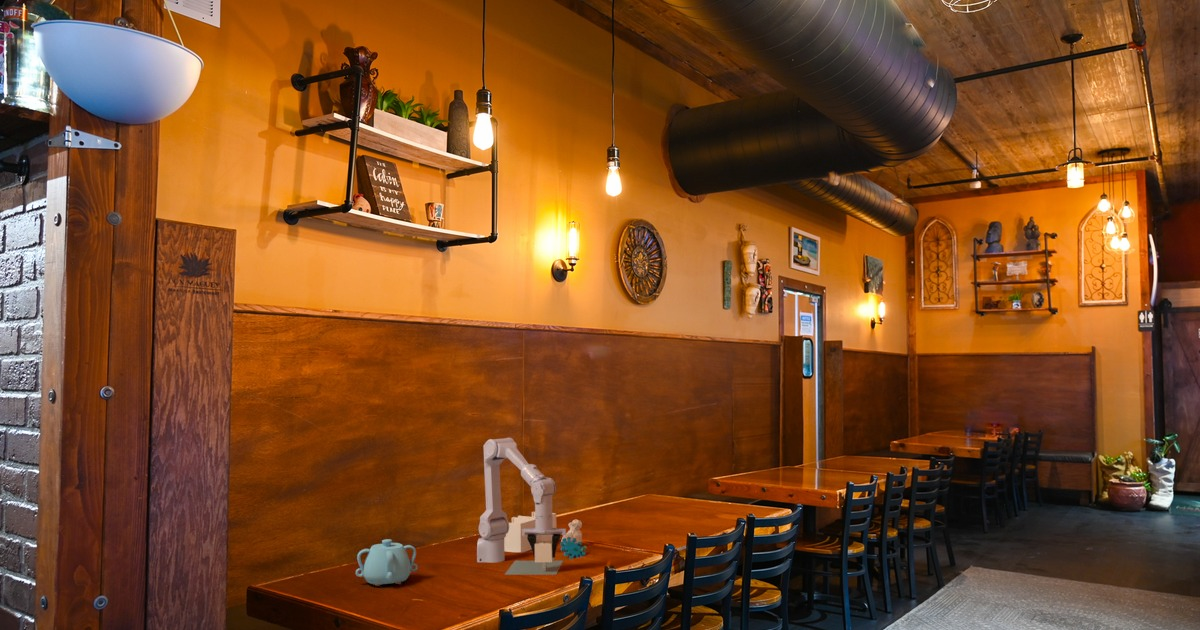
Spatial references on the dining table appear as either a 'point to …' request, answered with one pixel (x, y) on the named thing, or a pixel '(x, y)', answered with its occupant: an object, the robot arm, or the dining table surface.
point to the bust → (574, 531)
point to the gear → (572, 548)
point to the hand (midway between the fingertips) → (544, 557)
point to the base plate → (533, 568)
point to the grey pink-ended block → (544, 566)
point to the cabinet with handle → (543, 551)
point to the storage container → (514, 535)
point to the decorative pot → (386, 563)
